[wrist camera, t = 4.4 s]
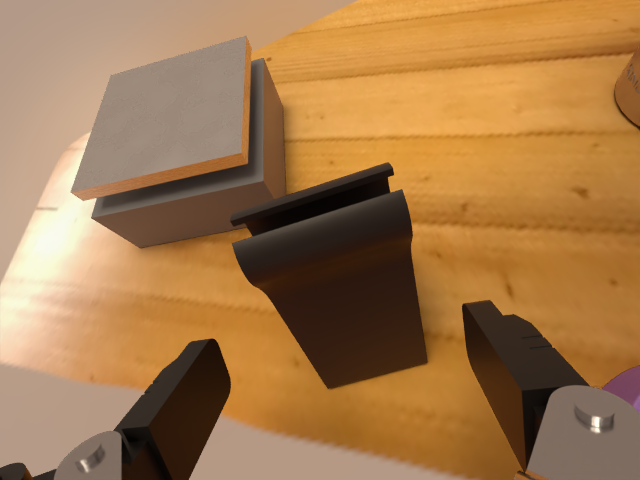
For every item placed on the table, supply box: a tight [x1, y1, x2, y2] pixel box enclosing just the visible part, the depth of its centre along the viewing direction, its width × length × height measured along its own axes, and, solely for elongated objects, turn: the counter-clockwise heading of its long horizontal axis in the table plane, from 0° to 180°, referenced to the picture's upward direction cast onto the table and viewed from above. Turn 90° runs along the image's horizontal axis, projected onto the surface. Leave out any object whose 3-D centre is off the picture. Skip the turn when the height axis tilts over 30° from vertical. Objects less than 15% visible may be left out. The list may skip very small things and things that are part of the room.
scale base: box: [91, 58, 286, 248], centre depth 28 cm, size 13×14×5 cm
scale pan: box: [71, 36, 251, 201], centre depth 24 cm, size 12×12×1 cm
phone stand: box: [230, 162, 427, 389], centre depth 16 cm, size 9×6×12 cm, turn 12°
